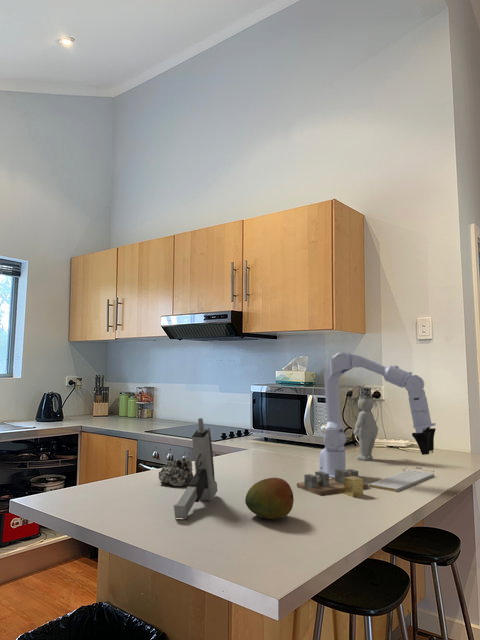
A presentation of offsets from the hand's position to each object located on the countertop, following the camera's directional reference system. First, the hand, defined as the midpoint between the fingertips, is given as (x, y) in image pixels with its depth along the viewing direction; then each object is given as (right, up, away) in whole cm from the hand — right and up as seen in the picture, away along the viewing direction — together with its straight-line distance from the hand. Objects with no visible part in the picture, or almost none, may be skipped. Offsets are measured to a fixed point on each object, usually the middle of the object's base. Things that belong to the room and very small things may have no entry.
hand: (428, 452), depth 160 cm
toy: (-9, -15, +44) cm, 47 cm away
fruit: (-55, -6, -38) cm, 67 cm away
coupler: (-28, -9, -14) cm, 33 cm away
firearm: (-74, -7, -28) cm, 80 cm away
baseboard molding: (-8, -12, +5) cm, 15 cm away
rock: (-83, -10, -1) cm, 84 cm away
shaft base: (-33, -10, -6) cm, 35 cm away
